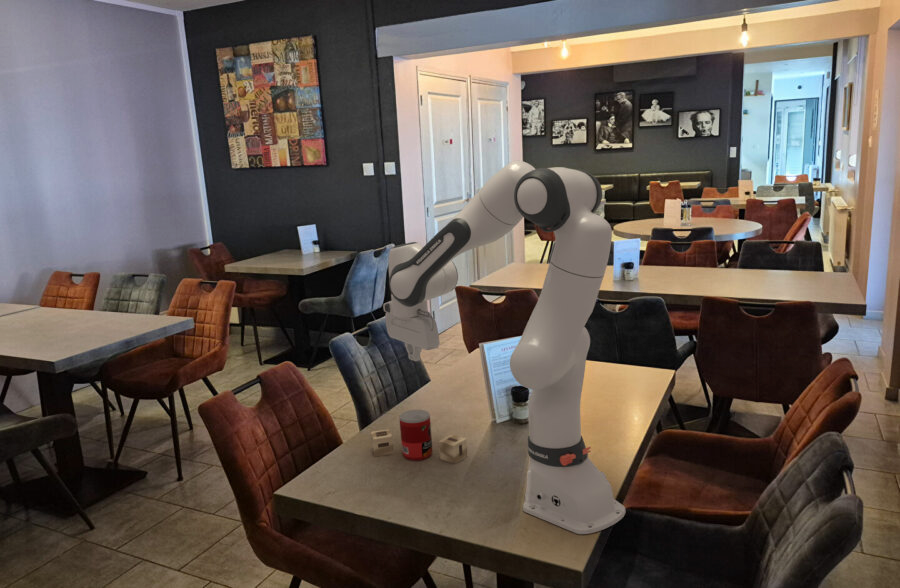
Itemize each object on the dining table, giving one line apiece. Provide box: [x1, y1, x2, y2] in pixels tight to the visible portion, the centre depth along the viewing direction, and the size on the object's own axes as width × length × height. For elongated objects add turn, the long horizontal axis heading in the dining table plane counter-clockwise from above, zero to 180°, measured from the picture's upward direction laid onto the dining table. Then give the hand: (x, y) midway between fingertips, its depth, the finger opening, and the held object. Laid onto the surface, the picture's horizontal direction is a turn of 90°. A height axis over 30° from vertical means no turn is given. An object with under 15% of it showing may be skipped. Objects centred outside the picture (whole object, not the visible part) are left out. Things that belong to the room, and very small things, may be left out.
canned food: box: [399, 409, 433, 461], centre depth 169 cm, size 8×8×11 cm
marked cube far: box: [370, 428, 395, 457], centre depth 173 cm, size 5×5×5 cm
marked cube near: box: [438, 434, 468, 465], centre depth 166 cm, size 5×5×5 cm
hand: (414, 359), depth 165 cm, fingers closed
